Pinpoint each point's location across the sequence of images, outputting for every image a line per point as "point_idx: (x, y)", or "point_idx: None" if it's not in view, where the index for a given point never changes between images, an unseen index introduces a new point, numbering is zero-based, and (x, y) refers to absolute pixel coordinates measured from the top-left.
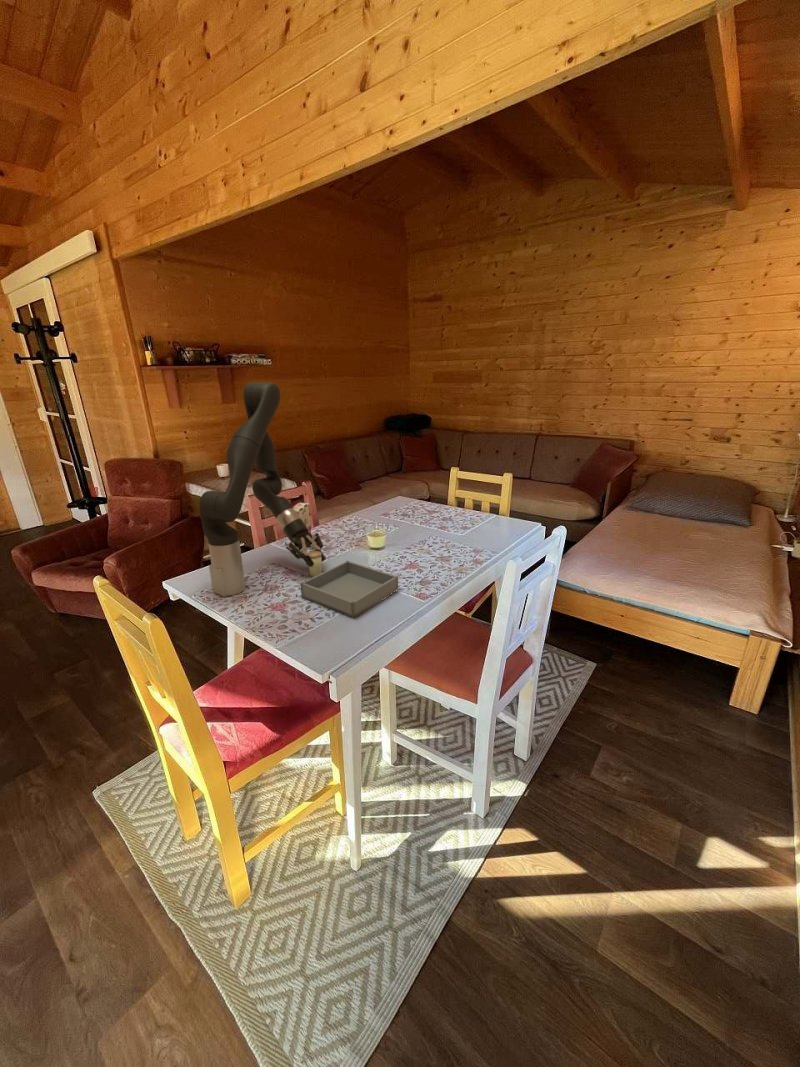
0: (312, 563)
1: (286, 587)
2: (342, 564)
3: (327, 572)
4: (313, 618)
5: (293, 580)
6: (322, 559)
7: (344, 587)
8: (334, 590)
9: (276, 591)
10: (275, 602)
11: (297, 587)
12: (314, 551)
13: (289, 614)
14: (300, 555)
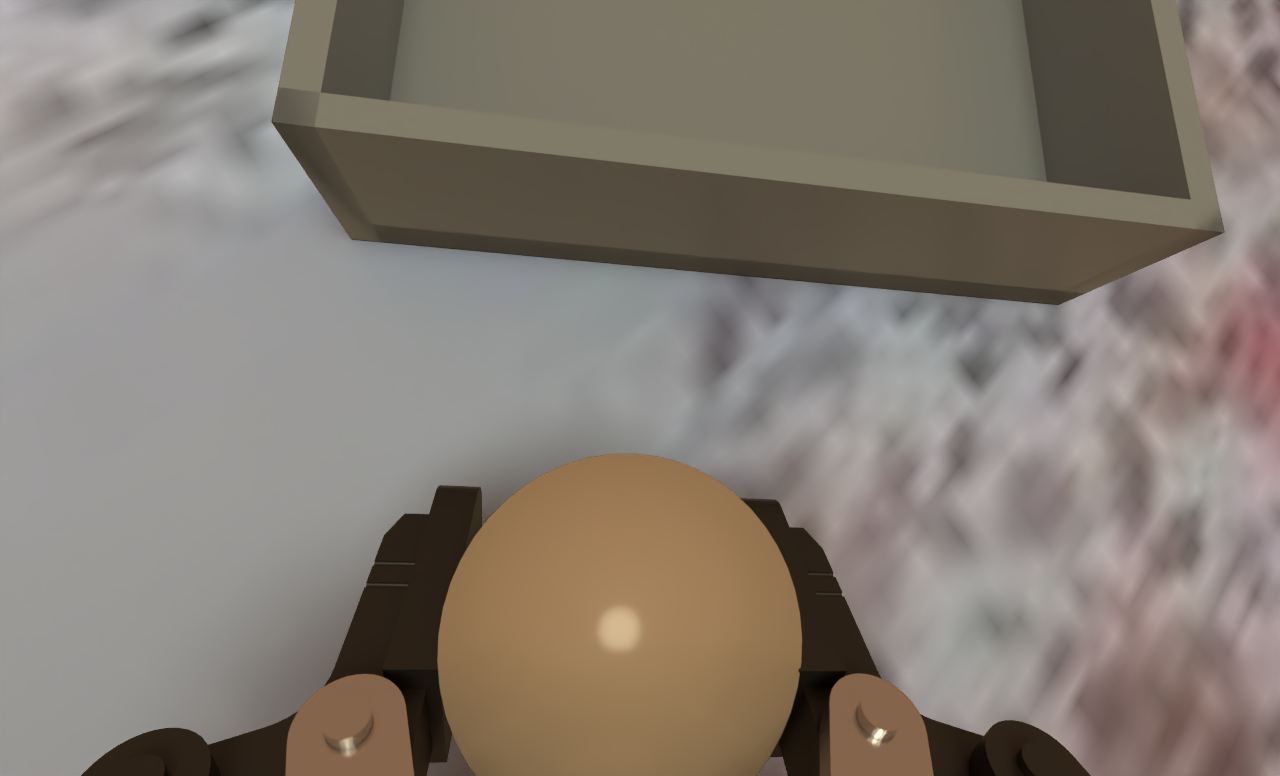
0: (775, 504)
1: (1041, 607)
2: (455, 109)
3: (790, 155)
4: None
5: None
6: (477, 525)
7: (719, 32)
8: (825, 79)
9: (1160, 624)
10: (1265, 444)
11: (962, 500)
12: (525, 743)
13: (1267, 200)
14: (1054, 742)
